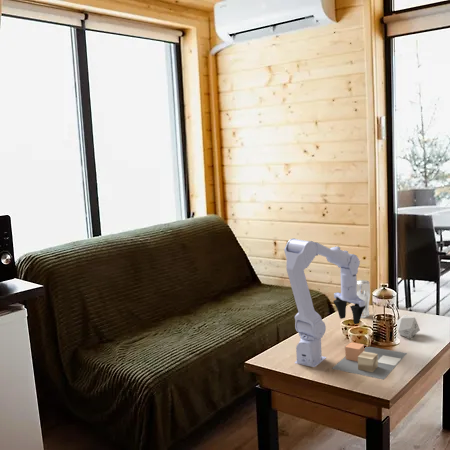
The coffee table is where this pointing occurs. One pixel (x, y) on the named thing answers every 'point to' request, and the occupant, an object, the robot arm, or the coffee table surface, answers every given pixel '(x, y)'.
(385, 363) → the build mat
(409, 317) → the die
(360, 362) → the birch block
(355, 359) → the terracotta block
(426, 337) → the coffee table surface
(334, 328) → the coffee table surface
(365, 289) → the beer glass
